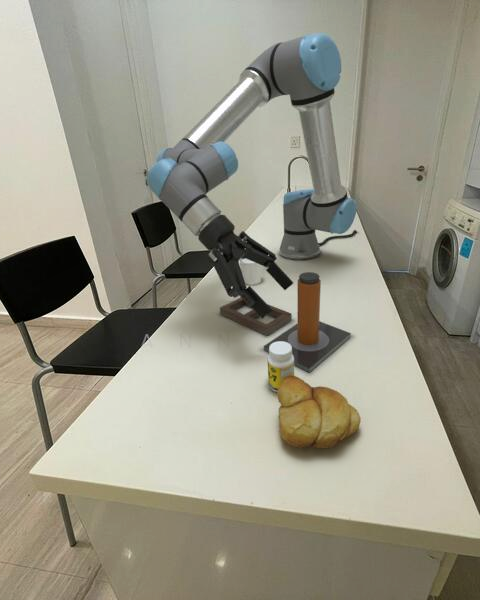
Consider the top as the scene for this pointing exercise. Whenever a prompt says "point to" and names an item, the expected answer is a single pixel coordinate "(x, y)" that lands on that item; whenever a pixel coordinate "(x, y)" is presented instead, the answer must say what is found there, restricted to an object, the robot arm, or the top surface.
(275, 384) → the supplement bottle
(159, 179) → the robot arm
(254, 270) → the white short cylinder
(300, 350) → the hob plate
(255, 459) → the top surface
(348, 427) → the bread roll
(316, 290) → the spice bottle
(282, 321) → the frame
